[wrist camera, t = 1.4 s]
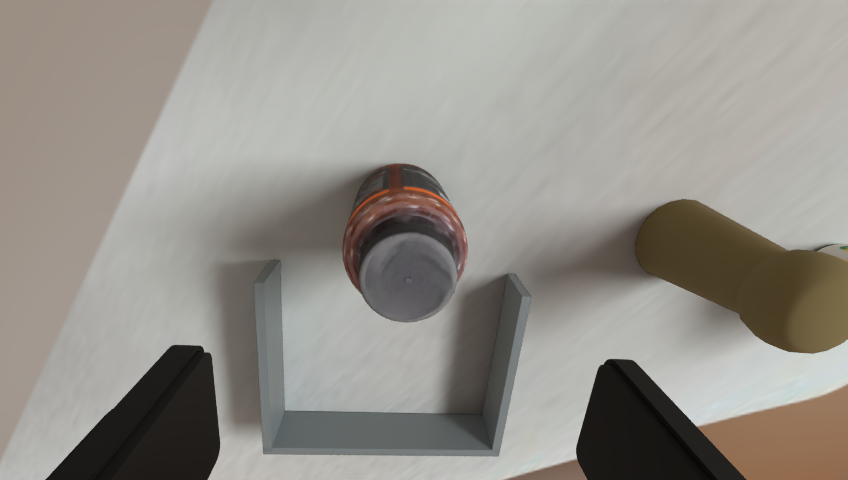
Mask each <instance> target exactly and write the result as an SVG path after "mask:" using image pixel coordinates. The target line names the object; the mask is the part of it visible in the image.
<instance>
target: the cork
mask: <svg viewBox="0 0 848 480" xmlns="http://www.w3.org/2000/svg"><path fill="white" fill-rule="evenodd" d="M635 243H636V257H637V259H638V262H639V264H640V265H641V266H642V268H643V269H644V270H645V271H646V272H648V273H650V274H652V275H654V276H657V277H659V278H661V279H663V280H666V281H668V282H670V283H672V284H674V285H677V286H679V287H681V288H683V289H686V290H688V291H690V292H692V293H695V294H697V295H699V296H701V297H703V298H706V299H708V300H710V301H712V302H715V303H717V304H719V305H721V306H724V307H726V308H728V309H730V310H732V311H735V312H737V313H739V315H740V319H741V320H742V321H743V322H744V324H745V325H746V326H747V327H748V328H749V329H750V330H751V331H752V332H753V334H754V335H755V336H757V337H758V338H760V339H761V340H763V341H764V342H766V343H768V344H770V345H773V346H775V347H777V348H780V349H783V350H785V351H788V352H798V353H818V352H822V351H827V350H829V349H831V348H833V347H836V346H838V345H840V344H842V343H843V342H845V341H846V340H847V339H848V263H847V262H846V261H844V260H842V259H840V258H838V257H836V256H833V255H830V254H827V253H824V252H816V251H807V250H792V251H788V250H786V249H784V248H783V247H781V246H779V245H777V244H775V243H773V242H772V241H770V240H768V239H766V238H764V237H762V236H761V235H759V234H757V233H755V232H753V231H751V230H750V229H748V228H746V227H744V226H742V225H740V224H739V223H737V222H735V221H733V220H731V219H729V218H728V217H726V216H724V215H722V214H720V213H718V212H717V211H715V210H713V209H711V208H709V207H707V206H706V205H704V204H702V203H700V202H698V201H696V200H686V199H682V200H677V201H673V202H669V203H667V204H666V205H664V206H662V207H660V208H658V209H657V210H656V211H655V212H653V213H652V214H651V215H650V216H649V217H648V218H647V219H646V221H645V222H644V224H643V225H642V227H641V228H640V230H639V233H638V236H637V239H636V242H635Z"/></svg>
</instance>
